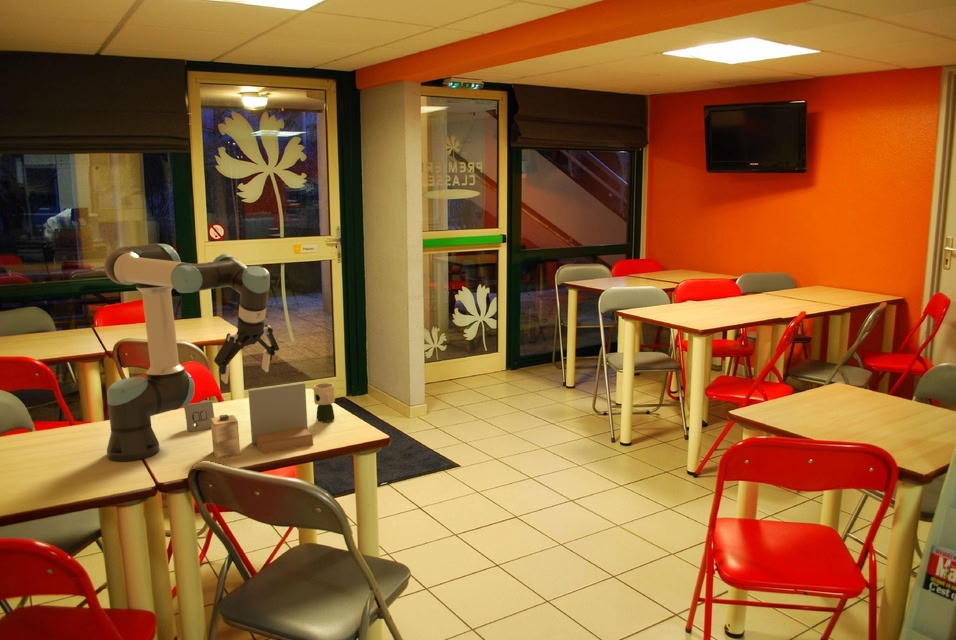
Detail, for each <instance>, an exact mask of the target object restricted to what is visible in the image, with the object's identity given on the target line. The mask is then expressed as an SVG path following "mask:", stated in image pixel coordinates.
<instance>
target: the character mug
mask: <svg viewBox="0 0 956 640" xmlns="http://www.w3.org/2000/svg"><path fill="white" fill-rule="evenodd" d="M335 398H336V397H335V384H333V383H331V382H322V383H316V384H314V385H313V401H314V404H315V405H317V407H316V421H317V422H320V423H328V422H330V421H334V420H335V419H336V417H335V411H334V407H333V405H332V404H334V403H335V401H336V399H335Z"/></svg>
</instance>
